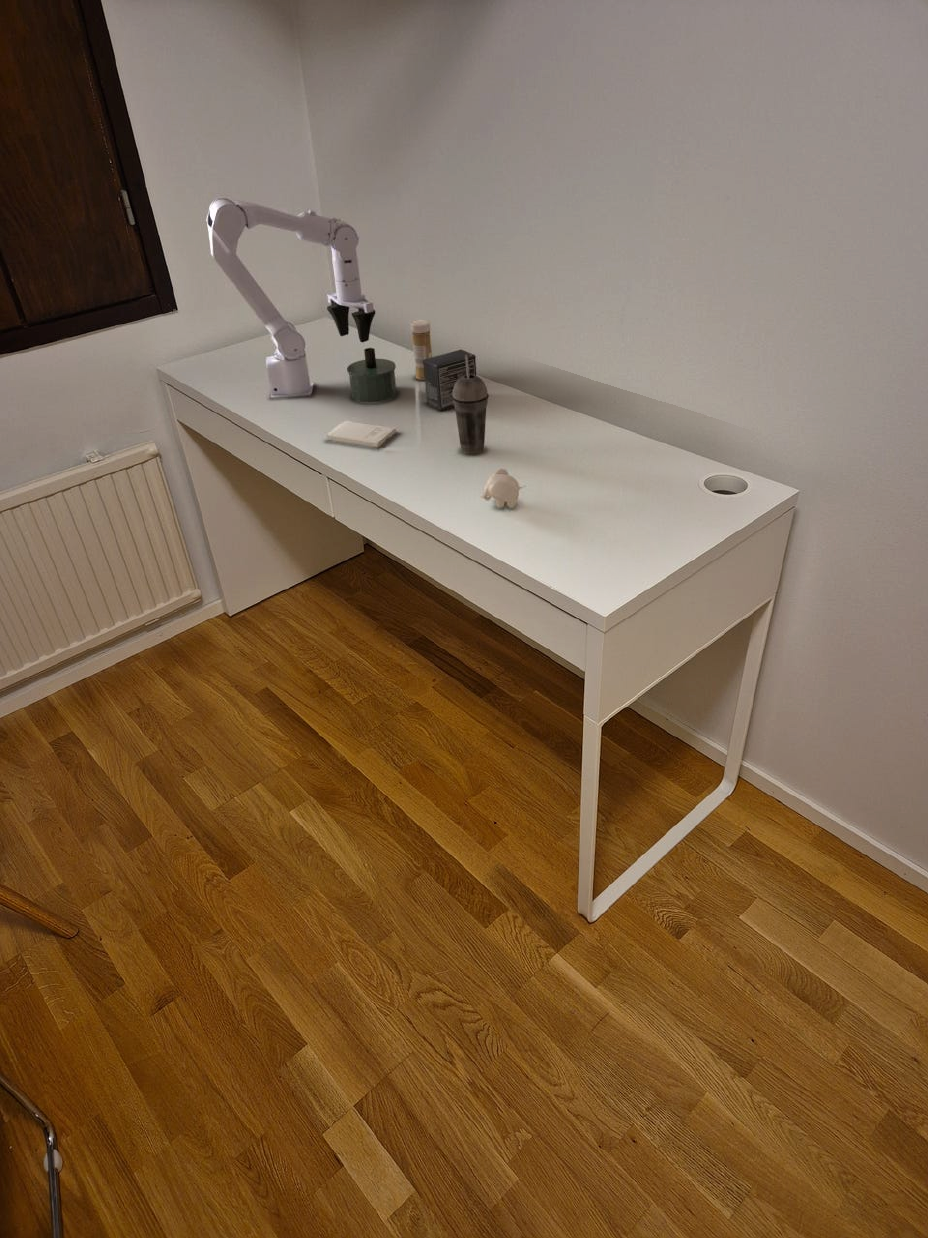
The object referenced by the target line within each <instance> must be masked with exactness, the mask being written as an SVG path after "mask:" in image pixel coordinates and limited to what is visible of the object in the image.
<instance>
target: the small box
mask: <svg viewBox="0 0 928 1238" xmlns="http://www.w3.org/2000/svg"><path fill="white" fill-rule="evenodd" d="M465 355H468V366H469V375H475V376H477V362H476V360H477V359H476V358H477V357H476V354H473V353H471V352H468V351H466V350H464V349H457V350H453V351H451V352H447V353H443V354H439V355H436V356H432V357H431V358H428V359H424V360H423V366H424V377H425V380H424V388H425V397H426V399H425V400H426V401H425V402H426V405H428V406H430V407H431V408H433V409H434V410H436V411H438V412H442V411H446V410H450V409H453V408H455V407H454V403H453V399H452V392H453V388H454V385H455V383H456V382H457V380H458V379H460V378H461V377H463V376H465V375H467V372H466V360H465Z"/></svg>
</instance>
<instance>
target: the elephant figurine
mask: <svg viewBox="0 0 928 1238" xmlns="http://www.w3.org/2000/svg"><path fill="white" fill-rule="evenodd" d="M525 487H526V485H523V486H520V484H519V482H518V480H517V479H516V478H515V477H513V476H511V475H509V472H508V470H507V469H506V468H498V469H497V470H496V471H494V473H493V474H492V475H491V476H489V478H488V479H487V482H486V484H485V486H484V488H483V489H482V492H481V498H483V500H485V501H486V502H489V501H491V500H492V498H493V499H494V501H495V504H496V505H495V506H496V507H497V508H498V509H501V508H504V506H505V503H506V506H507V507H508V508H510V509H513V508H515V507H516V505H517V502H518V500H519V495H520V490H521V489H523V488H525Z"/></svg>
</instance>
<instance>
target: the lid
mask: <svg viewBox="0 0 928 1238" xmlns="http://www.w3.org/2000/svg"><path fill="white" fill-rule="evenodd" d="M363 352H364V359H361V360H357V361H355V362H352V363H349V365H348V366H347V367H346V372H347V374H348V375H349V374H350V375H352V376H356V377H378V376H382V375H386V374H389V373H391V372H392V371H395V370H396V367H397V365H396V363H395V362H394V361H392V360H390V359H386V358H376V349H375V348H373V347H367V348H364V349H363Z"/></svg>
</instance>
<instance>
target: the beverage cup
mask: <svg viewBox="0 0 928 1238" xmlns="http://www.w3.org/2000/svg"><path fill="white" fill-rule="evenodd" d="M465 360H466V372H467V375H465V376H463V377H461V378H460V379H458V380H457V382H456V383H455V385H454V388H453V392H452V399H453V403H454V407H453V408H454V410H455V411H454V412H455V416H456V417H455V418H456V423H457V424H456V425H457V431H458V437H459V444H460V448H461V453H462V454H464V455H466V456H477V455H481V454H482V453H483V452H484V451H485V439H486V438H485V437H486V424H487V423H486V421H487V420H486V419H487V418H486V417H487V407H488V402H489V396H490V393H489V390H488V388H487V387H488V386H487V385H486V383H485V381H484V380H483V379H482V378H481V377H479V376H477V375H476V376H475V375H469V366H468V355H465Z"/></svg>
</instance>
